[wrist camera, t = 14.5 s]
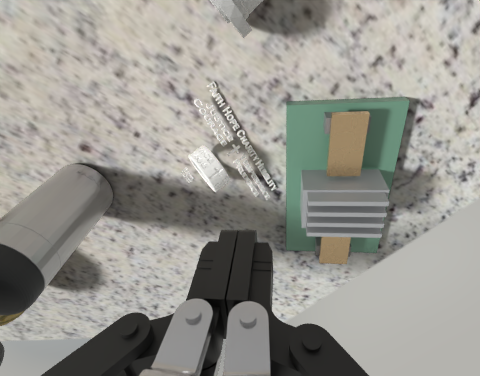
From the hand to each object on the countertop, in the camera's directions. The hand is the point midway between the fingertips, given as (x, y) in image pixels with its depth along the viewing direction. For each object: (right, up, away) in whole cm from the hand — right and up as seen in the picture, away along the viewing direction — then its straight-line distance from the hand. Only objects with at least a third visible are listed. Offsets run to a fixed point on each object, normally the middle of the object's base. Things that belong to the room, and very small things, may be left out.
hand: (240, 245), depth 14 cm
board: (+14, +3, +31) cm, 34 cm away
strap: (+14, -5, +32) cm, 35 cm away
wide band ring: (-4, +7, +31) cm, 32 cm away
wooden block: (+13, +8, +24) cm, 28 cm away
